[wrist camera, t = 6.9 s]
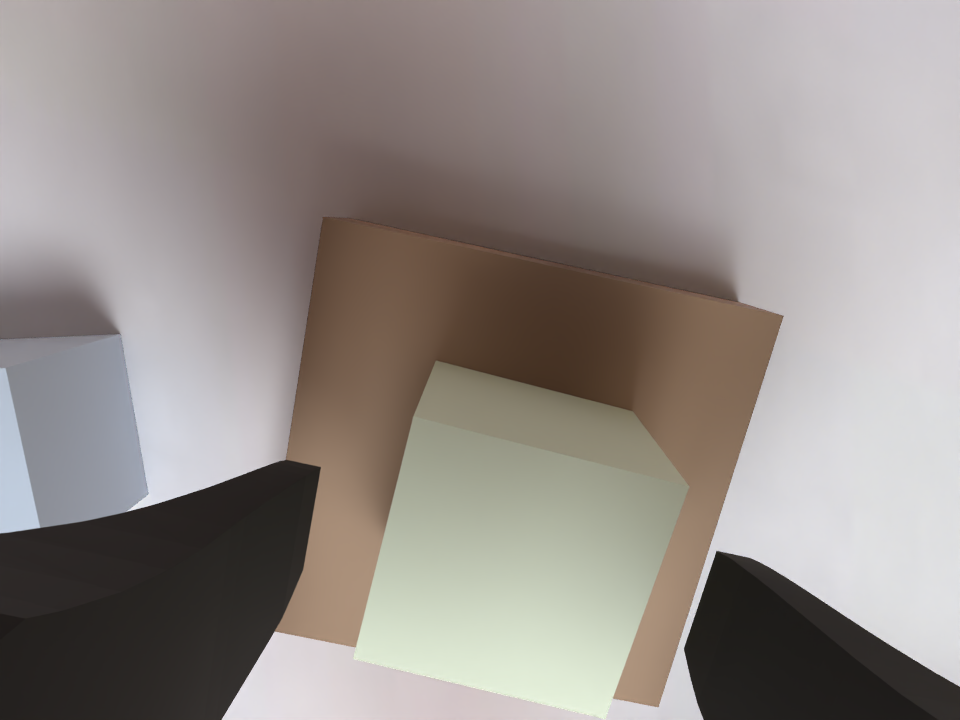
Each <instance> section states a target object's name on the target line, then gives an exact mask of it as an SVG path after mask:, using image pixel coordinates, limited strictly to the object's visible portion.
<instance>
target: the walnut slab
mask: <svg viewBox="0 0 960 720" xmlns="http://www.w3.org/2000/svg"><path fill="white" fill-rule="evenodd" d="M782 319H783V316H782V315H779V314H776V313H772V312H769V311H766V310H763V309H759V308H756V307H753V306H750V305H746V304H743V303H740V302H736V301H731V300H726V299H722V298H717V297H712V296H708V295H703V294H699V293H694V292H689V291H685V290H680V289H675V288H671V287H666V286H661V285H657V284H652V283H648V282H643V281H638V280H634V279H629V278H624V277H620V276H615V275H610V274H606V273H601V272H597V271H592V270H587V269H583V268H578V267H573V266H569V265H564V264H559V263H555V262H550V261H546V260H541V259H536V258H532V257H527V256H522V255H518V254H513V253H508V252H504V251H499V250H495V249H490V248H485V247H481V246H476V245H471V244H467V243H462V242H457V241H453V240H448V239H444V238H439V237H434V236H430V235H425V234H420V233H416V232H411V231H406V230H402V229H397V228H393V227H388V226H383V225H379V224H374V223H369V222H365V221H360V220H355V219H351V218H337V217H323V220H322V227H321V233H320V240H319V246H318V253H317V260H316V266H315V273H314V279H313V286H312V292H311V299H310V305H309V312H308V318H307V325H306V332H305V338H304V345H303V351H302V358H301V364H300V371H299V377H298V384H297V391H296V397H295V404H294V410H293V417H292V423H291V430H290V436H289V443H288V449H287V456H286V460H290V461H295V462H300V463H304V464H309V465H314V466H318V467H321V470H320V476H319V482H318V487H317V493H316V499H315V505H314V510H313V516H312V522H311V528H310V533H309V539H308V545H307V551H306V557H305V562H304V568H303V572H302V574H301V576H300V579H299V581H298V583H297V586H296V588H295V590H294V593H293V595H292V597H291V600H290V602H289V604H288V606H287V609H286V611H285V613H284V615H283V618H282V619H281V621H280V623H279V625H278V626H277V628H276V630H275V632H280V633H285V634H291V635H296V636H301V637H306V638H311V639H316V640H321V641H326V642H331V643H336V644H341V645H346V646H351V647H356V645H357V641H358V637H359V633H360V629H361V625H362V621H363V617H364V613H365V609H366V605H367V601H368V597H369V593H370V589H371V585H372V581H373V577H374V573H375V569H376V565H377V561H378V557H379V553H380V549H381V545H382V541H383V537H384V533H385V529H386V525H387V521H388V517H389V513H390V508H391V504H392V500H393V496H394V492H395V488H396V484H397V480H398V476H399V472H400V468H401V464H402V460H403V456H404V452H405V448H406V444H407V440H408V436H409V432H410V428H411V424H412V420H413V416H414V414H415V411H416V409H417V406H418V404H419V401H420V399H421V396H422V394H423V391H424V389H425V386H426V384H427V381H428V379H429V377H430V374H431V372H432V369H433V367H434V364H435V362H436V361H440V362H444V363H448V364H452V365H455V366H459V367H463V368H467V369H471V370H475V371H479V372H483V373H486V374H490V375H494V376H498V377H502V378H506V379H510V380H514V381H517V382H521V383H525V384H529V385H533V386H537V387H541V388H544V389H548V390H552V391H556V392H560V393H564V394H568V395H572V396H575V397H579V398H583V399H587V400H591V401H595V402H599V403H603V404H606V405H610V406H614V407H618V408H622V409H626V410H630V411H633V412H634V413H635V415H636V416H637V417H638V419H639V420H640V421H641V423H642V424H643V425H644V427H645V428H646V429H647V431H648V432H649V433H650V435H651V436H652V437H653V439H654V440H655V441H656V443H657V444H658V445H659V447H660V448H661V449H662V451H663V452H664V453H665V455H666V456H667V457H668V459H669V460H670V461H671V463H672V464H673V465H674V467H675V468H676V469H677V471H678V472H679V473H680V475H681V476H682V477H683V479H684V480H685V481H686V483H687V484H688V485H689V489H688V492H687V494H686V497H685V500H684V503H683V506H682V508H681V511H680V514H679V517H678V519H677V522H676V525H675V528H674V530H673V533H672V536H671V539H670V541H669V544H668V547H667V550H666V553H665V555H664V558H663V561H662V564H661V566H660V569H659V572H658V575H657V577H656V580H655V583H654V586H653V588H652V591H651V594H650V597H649V600H648V602H647V605H646V608H645V611H644V613H643V616H642V619H641V622H640V624H639V627H638V630H637V633H636V635H635V638H634V641H633V644H632V647H631V649H630V652H629V655H628V658H627V660H626V663H625V666H624V669H623V671H622V674H621V677H620V680H619V682H618V685H617V688H616V691H615V694H614V696H613V698H614V699H619V700H624V701H629V702H634V703H639V704H644V705H649V706H654V707H659V703H660V700H661V697H662V694H663V691H664V688H665V685H666V682H667V678H668V675H669V672H670V669H671V666H672V663H673V660H674V657H675V653H676V650H677V647H678V644H679V641H680V638H681V635H682V632H683V628H684V625H685V622H686V619H687V616H688V613H689V610H690V607H691V603H692V600H693V597H694V594H695V591H696V588H697V585H698V582H699V578H700V575H701V572H702V569H703V566H704V563H705V560H706V557H707V553H708V550H709V547H710V544H711V541H712V538H713V535H714V532H715V528H716V525H717V522H718V519H719V516H720V513H721V510H722V507H723V503H724V500H725V497H726V494H727V491H728V488H729V485H730V482H731V478H732V475H733V472H734V469H735V466H736V463H737V460H738V457H739V453H740V450H741V447H742V444H743V441H744V438H745V435H746V432H747V429H748V425H749V422H750V419H751V416H752V413H753V410H754V407H755V404H756V400H757V397H758V394H759V391H760V388H761V385H762V382H763V379H764V375H765V372H766V369H767V366H768V363H769V360H770V357H771V354H772V350H773V347H774V344H775V341H776V338H777V335H778V332H779V329H780V325H781V322H782Z"/></svg>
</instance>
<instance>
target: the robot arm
mask: <svg viewBox="0 0 960 720" xmlns="http://www.w3.org/2000/svg"><path fill="white" fill-rule="evenodd" d="M320 470H321V467H318V466H314V465H309V464H304V463H300V462H295V461H290V460H284V461H280V462H276V463H273V464H270V465H268V466H265V467H262V468H260V469H257V470H254V471H252V472H249V473H246V474H244V475H241V476H238V477H236V478H233V479H230V480H227V481H225V482H222V483H219V484H217V485H214V486H211V487H208V488H205V489H202V490H199V491H196V492H193V493H190V494H187V495H184V496H180V497H177V498H174V499H171V500H168V501H165V502H162V503H159V504H155V505H151V506H148V507H144V508H140V509H136V510H132V511H128V512H124V513H120V514H115V515H110V516H106V517H101V518H97V519H92V520H87V521H82V522H76V523H69V524H62V525H56V526H49V527H42V528H35V529H29V530H22V531H15V532H8V533H0V720H222V718H223V716H224V715H225V713H226V711H227V710H228V708H229V706H230V705H231V703H232V701H233V700H234V698H235V696H236V695H237V693H238V691H239V690H240V688H241V686H242V685H243V683H244V682H245V680H246V678H247V677H248V675H249V673H250V672H251V670H252V668H253V667H254V665H255V663H256V662H257V660H258V658H259V657H260V655H261V653H262V652H263V650H264V648H265V647H266V645H267V643H268V642H269V640H270V638H271V637H272V635H273V633H274V631H275V630H276V628H277V626H278V625H279V623H280V621H281V619H282V618H283V615H284V613H285V611H286V609H287V606H288V604H289V602H290V600H291V597H292V595H293V593H294V590H295V588H296V586H297V583H298V581H299V579H300V576H301V574H302V572H303V568H304V562H305V557H306V551H307V545H308V539H309V533H310V528H311V522H312V516H313V510H314V505H315V499H316V493H317V487H318V482H319V476H320ZM684 651H685V656H686V660H687V664H688V669H689V673H690V677H691V681H692V685H693V689H694V692H695V696H696V700H697V703H698V706H699V709H700V711H701V714H702V716H703V719H704V720H960V687H959V686H957V685H955V684H954V683H952V682H950V681H948V680H947V679H945V678H943V677H942V676H940V675H938V674H936V673H935V672H933V671H931V670H929V669H928V668H926V667H925V666H923V665H921V664H920V663H918V662H916V661H915V660H913V659H911V658H910V657H908V656H907V655H905V654H903V653H902V652H900V651H898V650H897V649H895V648H894V647H892V646H890V645H889V644H887V643H885V642H884V641H882V640H881V639H879V638H878V637H876V636H874V635H873V634H871V633H870V632H868V631H867V630H865V629H864V628H862V627H861V626H859V625H857V624H856V623H854V622H853V621H851V620H850V619H848V618H847V617H845V616H844V615H842V614H841V613H839V612H838V611H836V610H835V609H833V608H832V607H830V606H829V605H827V604H826V603H824V602H823V601H821V600H820V599H818V598H817V597H815V596H813V595H812V594H810V593H809V592H807V591H806V590H804V589H803V588H801V587H800V586H798V585H797V584H795V583H794V582H792V581H790V580H789V579H787V578H786V577H784V576H782V575H781V574H779V573H778V572H776V571H774V570H772V569H771V568H769V567H767V566H765V565H763V564H762V563H760V562H757V561H755V560H753V559H751V558H747V557H743V556H738V555H733V554H729V553H724V552H719V551H717V552H716V555H715V558H714V561H713V564H712V567H711V570H710V573H709V576H708V579H707V582H706V585H705V588H704V591H703V594H702V597H701V600H700V603H699V606H698V609H697V612H696V615H695V618H694V620H693V623H692V626H691V629H690V632H689V635H688V638H687V641H686V644H685V647H684Z"/></svg>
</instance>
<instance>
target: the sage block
mask: <svg viewBox="0 0 960 720" xmlns="http://www.w3.org/2000/svg"><path fill="white" fill-rule="evenodd" d="M688 489H689V485H688V484H687V483H686V481H685V480H684V479H683V477H682V476H681V475H680V473H679V472H678V471H677V469H676V468H675V467H674V465H673V464H672V463H671V461H670V460H669V459H668V457H667V456H666V455H665V453H664V452H663V451H662V449H661V448H660V447H659V445H658V444H657V443H656V441H655V440H654V439H653V437H652V436H651V435H650V433H649V432H648V431H647V429H646V428H645V427H644V425H643V424H642V423H641V421H640V420H639V419H638V417H637V416H636V415H635V413H634V412H633V411H630V410H626V409H622V408H618V407H614V406H610V405H606V404H603V403H599V402H595V401H591V400H587V399H583V398H579V397H575V396H572V395H568V394H564V393H560V392H556V391H552V390H548V389H544V388H541V387H537V386H533V385H529V384H525V383H521V382H517V381H514V380H510V379H506V378H502V377H498V376H494V375H490V374H486V373H483V372H479V371H475V370H471V369H467V368H463V367H459V366H455V365H452V364H448V363H444V362H440V361H436V362H435V364H434V367H433V369H432V372H431V374H430V377H429V379H428V381H427V384H426V386H425V389H424V391H423V394H422V396H421V399H420V401H419V404H418V406H417V409H416V411H415V414H414V416H413V420H412V424H411V428H410V432H409V436H408V440H407V444H406V448H405V452H404V456H403V460H402V464H401V468H400V472H399V476H398V480H397V484H396V488H395V492H394V496H393V500H392V504H391V508H390V513H389V517H388V521H387V525H386V529H385V533H384V537H383V541H382V545H381V549H380V553H379V557H378V561H377V565H376V569H375V573H374V577H373V581H372V585H371V589H370V593H369V597H368V601H367V605H366V609H365V613H364V617H363V621H362V625H361V629H360V633H359V637H358V641H357V645H356V649H355V653H354V657H353V659H355V660H359V661H363V662H368V663H372V664H376V665H380V666H384V667H388V668H393V669H397V670H401V671H405V672H409V673H414V674H418V675H422V676H426V677H430V678H435V679H439V680H443V681H447V682H451V683H456V684H460V685H464V686H468V687H472V688H477V689H481V690H485V691H489V692H493V693H498V694H502V695H506V696H510V697H514V698H518V699H523V700H527V701H531V702H535V703H539V704H544V705H548V706H552V707H556V708H560V709H565V710H569V711H573V712H577V713H581V714H586V715H590V716H594V717H598V718H602V719H605V718H606V716H607V713H608V710H609V707H610V705H611V702H612V699H613V696H614V694H615V691H616V688H617V685H618V682H619V680H620V677H621V674H622V671H623V669H624V666H625V663H626V660H627V658H628V655H629V652H630V649H631V647H632V644H633V641H634V638H635V635H636V633H637V630H638V627H639V624H640V622H641V619H642V616H643V613H644V611H645V608H646V605H647V602H648V600H649V597H650V594H651V591H652V588H653V586H654V583H655V580H656V577H657V575H658V572H659V569H660V566H661V564H662V561H663V558H664V555H665V553H666V550H667V547H668V544H669V541H670V539H671V536H672V533H673V530H674V528H675V525H676V522H677V519H678V517H679V514H680V511H681V508H682V506H683V503H684V500H685V497H686V494H687V492H688Z"/></svg>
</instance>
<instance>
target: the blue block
mask: <svg viewBox="0 0 960 720" xmlns="http://www.w3.org/2000/svg"><path fill="white" fill-rule="evenodd" d="M147 495H148V489H147V483H146V477H145V472H144V466H143V460H142V454H141V449H140V443H139V437H138V431H137V426H136V420H135V414H134V409H133V403H132V397H131V391H130V386H129V380H128V374H127V368H126V363H125V357H124V351H123V345H122V340H121V334H110V335H87V336H64V337H41V338H18V339H0V533H8V532H15V531H22V530H29V529H35V528H42V527H49V526H56V525H62V524H69V523H76V522H82V521H87V520H92V519H97V518H101V517H106V516H110V515H115V514H120V513H124V512H126V511H128V510H129V509H130V508H131V507H133V506H134V505H135V504H137V503H138V502H139V501H140V500H142V499H143V498H144V497H146V496H147Z"/></svg>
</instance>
